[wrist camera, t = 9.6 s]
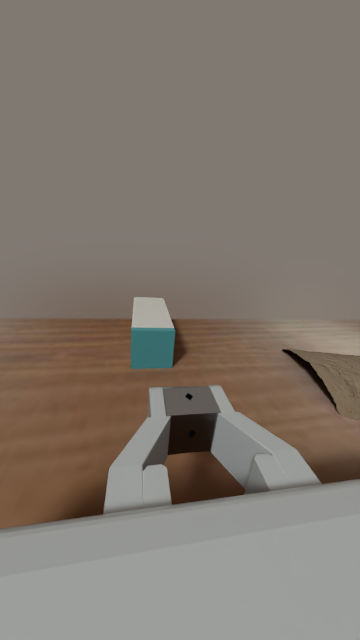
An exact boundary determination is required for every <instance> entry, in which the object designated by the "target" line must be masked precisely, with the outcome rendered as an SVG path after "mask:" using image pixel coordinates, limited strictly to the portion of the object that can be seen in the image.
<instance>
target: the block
mask: <svg viewBox="0 0 360 640" xmlns="http://www.w3.org/2000/svg"><path fill="white" fill-rule="evenodd" d="M174 341H175V329H174V326H173V323H172V321H171V318H170V315H169V313H168V310H167V307H166V305H165V302H164V299H163V298H144V297H134V305H133V317H132V328H131V369H142V368H172V364H173V352H174Z"/></svg>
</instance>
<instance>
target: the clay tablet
mask: <svg viewBox="0 0 360 640" xmlns="http://www.w3.org/2000/svg"><path fill="white" fill-rule="evenodd" d="M283 350H286V351H292V352H294V353H296V354H297V355H299V356H300V357H301V358H303V359H304V360H305V361H307V362H310V364H311V366H312V367H313V368H314V369H315V371H317V374H318V376H319V377H320V378H321V379H322V380H323V382H324V384H325V386H326V387H327V388H328V391H329V392H330V393H331V396H332V397H333V398H334V399H333V400H334V402H335V403H336V404H337V405H336V407H337V411H338V412H339V414H340V415H342V416H345V417H348V418H350V419H354V420H360V356H354V355H341V354H332V353H322V352H308V351H302V350H290V349H283Z"/></svg>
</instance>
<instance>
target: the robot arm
mask: <svg viewBox="0 0 360 640" xmlns="http://www.w3.org/2000/svg"><path fill="white" fill-rule="evenodd" d="M205 451H211V453H212V454H213V455H214V456H215V457H216V458H217V459H218V460H219V462H220V463H221V464H222V465H223V466H224V467H225V468H226V469H227V470H228V471H229V472H230V473H231V475H232V476H233V477H234V478H235V479H236V480H237V481H238V482H239V483H240V484H241V485H242V486H243V488H244V489H245V493H244V495H240V496H233V497H225V498H218V499H211V500H204V501H197V502H190V503H182V504H175V505H172V503H171V495H170V488H169V480H168V472H167V468H166V467H165V466H164V463H165V461H166V459H167V456H168V455H174V454H182V453H190V452H205ZM0 640H360V479H355V480H347V481H340V482H333V483H326V484H322V483H321V482H320V481H319V479H318V478H317V477H316V475H315V474H314V473H313V471H312V470H311V469H310V467H309V466H308V464H307V463H306V462H305V460H304V459H303V458H302V456H301V455H300V454H299V452H298V451H297V450H296V449H295V448H293V447H292V446H290V445H289V444H287V443H286V442H284V441H283V440H281V439H279V438H278V437H276V436H275V435H273V434H272V433H270V432H269V431H267V430H266V429H264V428H263V427H261V426H260V425H258V424H256V423H255V422H253V421H252V420H250V419H249V418H247V417H246V416H244V415H243V414H241V413H240V412H235V411H234V409H233V407H232V405H231V404H230V402H229V400H228V398H227V396H226V395H225V393H224V391H223V389H222V387H221V386H220V385H211V386H198V387H162V388H161V387H153V388H149V396H148V418H147V419H146V420H145V421H144V423H143V424H142V425H141V427H140V428H139V429H138V431H137V432H136V433H135V435H134V436H133V437H132V439H131V440H130V441H129V443H128V444H127V445H126V447H125V448H124V449H123V451H122V452H121V453H120V455H119V456H118V457H117V459H116V460H115V461H114V463H113V464H112V465H111V467H110V468H109V474H108V482H107V489H106V497H105V504H104V512H103V514H102V515H95V516H88V517H81V518H74V519H66V520H59V521H52V522H45V523H38V524H31V525H23V526H16V527H9V528H2V529H0Z"/></svg>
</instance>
